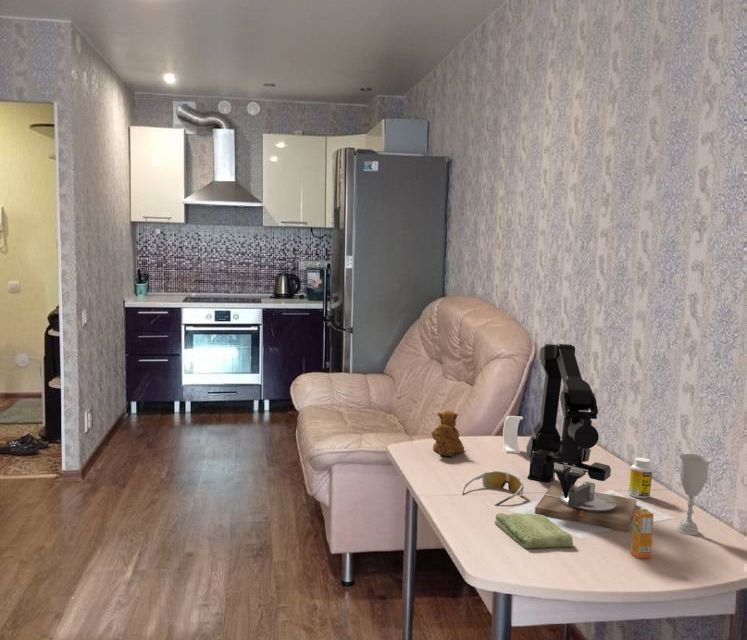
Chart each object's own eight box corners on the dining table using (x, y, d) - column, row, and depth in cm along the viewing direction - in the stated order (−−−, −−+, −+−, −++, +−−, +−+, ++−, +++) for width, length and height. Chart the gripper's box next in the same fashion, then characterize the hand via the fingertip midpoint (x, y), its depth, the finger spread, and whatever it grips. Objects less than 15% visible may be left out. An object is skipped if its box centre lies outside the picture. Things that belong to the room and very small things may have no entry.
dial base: (534, 513, 186) (535, 506, 186) (552, 489, 206) (552, 483, 206) (627, 531, 177) (628, 524, 177) (636, 505, 197) (636, 498, 197)
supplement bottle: (641, 500, 202) (644, 463, 201) (624, 494, 206) (627, 457, 205) (654, 497, 205) (657, 461, 204) (637, 491, 209) (640, 455, 208)
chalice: (689, 538, 175) (696, 463, 174) (665, 527, 181) (673, 455, 180) (710, 534, 179) (718, 460, 177) (686, 524, 185) (694, 453, 183)
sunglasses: (531, 496, 200) (531, 478, 199) (501, 516, 189) (501, 498, 188) (486, 482, 209) (486, 465, 208) (455, 501, 198) (454, 483, 197)
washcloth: (540, 521, 182) (541, 508, 182) (576, 550, 165) (578, 536, 165) (490, 522, 179) (491, 509, 179) (521, 552, 162) (523, 537, 162)
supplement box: (628, 552, 164) (633, 508, 163) (643, 552, 165) (647, 508, 164) (636, 559, 161) (641, 513, 160) (651, 558, 162) (655, 513, 161)
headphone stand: (506, 452, 242) (508, 416, 241) (501, 447, 248) (504, 412, 247) (520, 453, 242) (523, 417, 241) (515, 448, 248) (518, 412, 247)
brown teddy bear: (464, 449, 243) (467, 409, 242) (459, 461, 229) (462, 418, 228) (434, 446, 245) (437, 406, 244) (427, 457, 232) (430, 415, 230)
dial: (573, 490, 201) (575, 471, 201) (624, 503, 193) (626, 484, 192) (544, 504, 188) (546, 484, 188) (597, 519, 179) (599, 499, 179)
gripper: (620, 439, 187) (613, 499, 189) (549, 423, 197) (542, 481, 199) (607, 448, 178) (599, 511, 180) (533, 431, 188) (526, 491, 190)
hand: (566, 497), depth 187 cm, fingers closed
